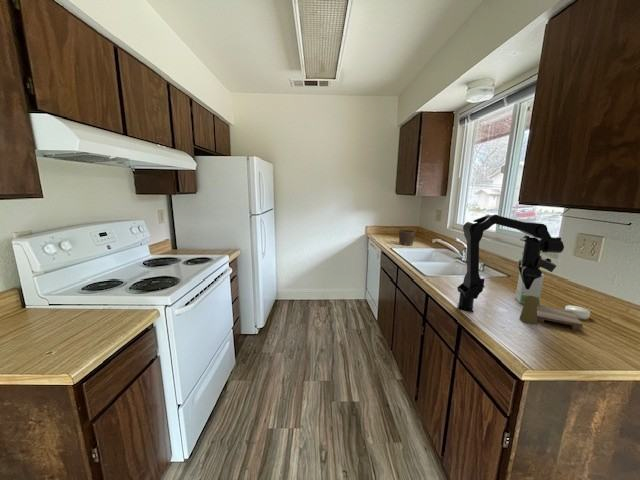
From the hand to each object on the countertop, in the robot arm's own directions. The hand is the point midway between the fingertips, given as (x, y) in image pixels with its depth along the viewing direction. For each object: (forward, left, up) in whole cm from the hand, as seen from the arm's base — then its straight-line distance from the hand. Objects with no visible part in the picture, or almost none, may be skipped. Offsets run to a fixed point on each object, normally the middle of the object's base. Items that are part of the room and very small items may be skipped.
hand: (525, 286), depth 116 cm
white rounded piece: (+11, -21, -13) cm, 27 cm away
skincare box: (+17, -4, -13) cm, 22 cm away
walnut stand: (-1, -11, -13) cm, 17 cm away
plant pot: (+123, +79, -13) cm, 147 cm away
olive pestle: (-8, -1, -13) cm, 15 cm away
